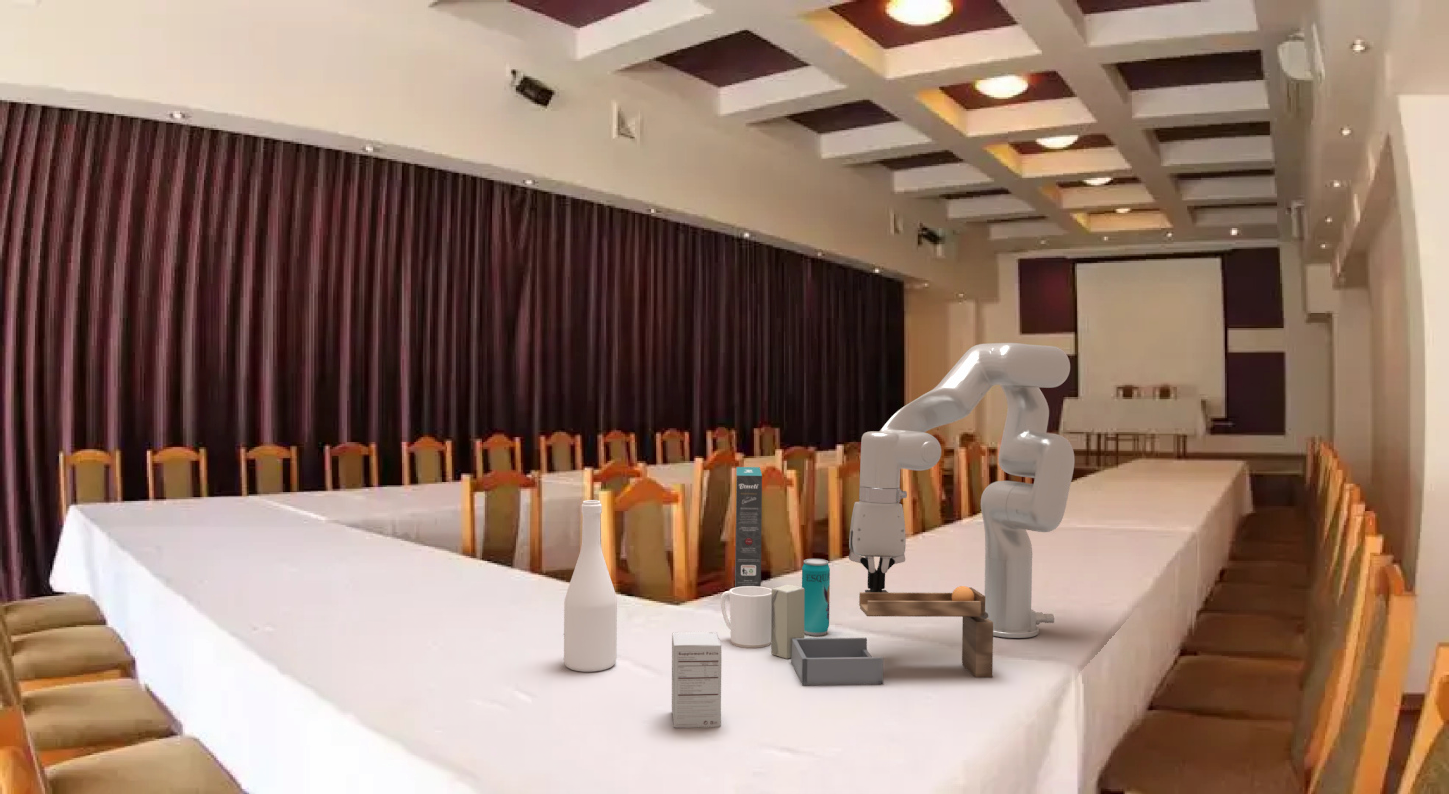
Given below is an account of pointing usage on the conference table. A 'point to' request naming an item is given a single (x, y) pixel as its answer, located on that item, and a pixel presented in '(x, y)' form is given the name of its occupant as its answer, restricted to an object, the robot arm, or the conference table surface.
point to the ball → (963, 594)
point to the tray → (835, 661)
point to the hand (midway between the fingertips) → (875, 592)
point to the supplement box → (696, 679)
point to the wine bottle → (590, 602)
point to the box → (786, 618)
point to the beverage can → (816, 596)
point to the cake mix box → (748, 526)
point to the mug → (749, 616)
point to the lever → (920, 604)
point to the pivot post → (977, 646)
